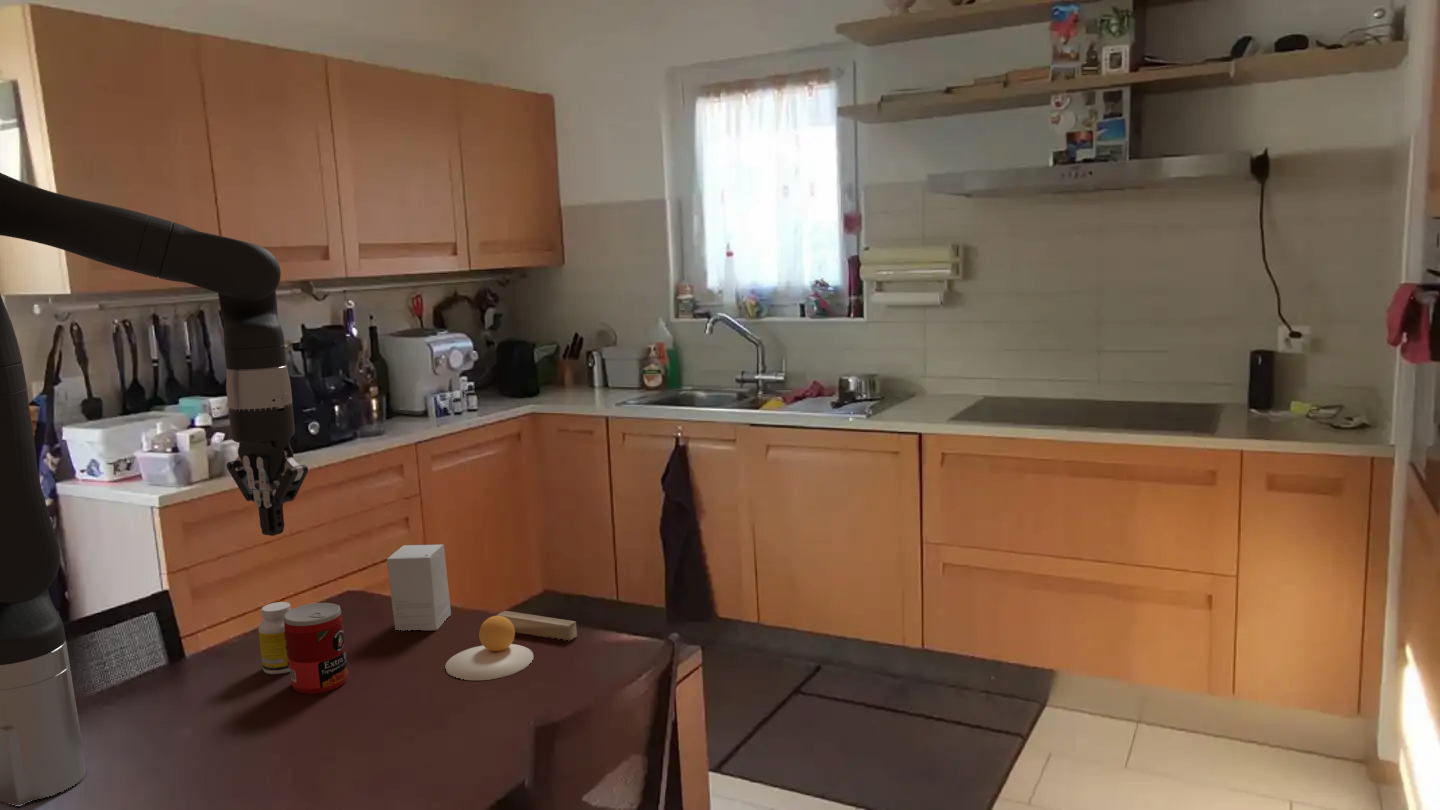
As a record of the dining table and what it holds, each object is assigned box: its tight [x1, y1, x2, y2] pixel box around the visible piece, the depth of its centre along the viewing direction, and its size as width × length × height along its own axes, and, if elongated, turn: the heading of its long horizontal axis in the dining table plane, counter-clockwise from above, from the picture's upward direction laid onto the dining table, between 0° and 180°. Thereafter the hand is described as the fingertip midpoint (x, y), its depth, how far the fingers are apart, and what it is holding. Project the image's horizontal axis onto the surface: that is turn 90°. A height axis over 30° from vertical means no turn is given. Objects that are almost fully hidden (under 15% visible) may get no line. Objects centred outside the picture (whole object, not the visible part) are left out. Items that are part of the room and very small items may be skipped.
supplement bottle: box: [258, 601, 292, 675], centre depth 157 cm, size 5×5×10 cm
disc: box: [444, 643, 534, 681], centre depth 157 cm, size 13×13×1 cm
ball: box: [478, 615, 516, 651], centre depth 161 cm, size 5×5×5 cm
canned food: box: [284, 602, 349, 695], centre depth 151 cm, size 8×8×11 cm
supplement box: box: [386, 543, 452, 632], centre depth 173 cm, size 7×7×13 cm
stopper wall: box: [496, 610, 578, 642], centre depth 167 cm, size 2×14×2 cm, turn 64°
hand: (273, 533), depth 135 cm, fingers closed
